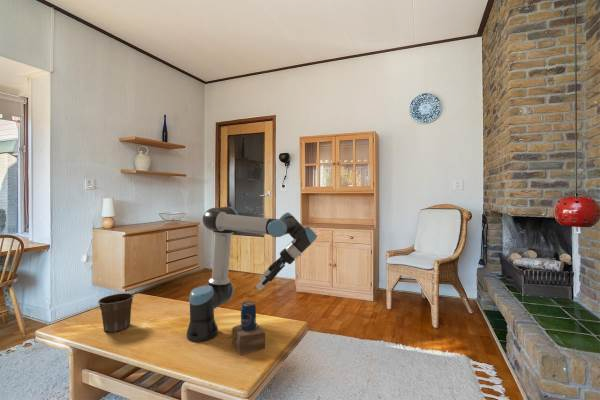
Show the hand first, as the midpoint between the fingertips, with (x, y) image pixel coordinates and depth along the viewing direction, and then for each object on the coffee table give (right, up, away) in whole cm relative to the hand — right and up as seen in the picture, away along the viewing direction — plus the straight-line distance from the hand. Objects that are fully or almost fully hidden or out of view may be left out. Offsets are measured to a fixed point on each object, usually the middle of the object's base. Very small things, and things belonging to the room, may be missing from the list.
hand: (259, 284), depth 144 cm
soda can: (-4, -20, -4) cm, 21 cm away
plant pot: (-79, -28, +16) cm, 85 cm away
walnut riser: (-4, -28, -4) cm, 29 cm away
